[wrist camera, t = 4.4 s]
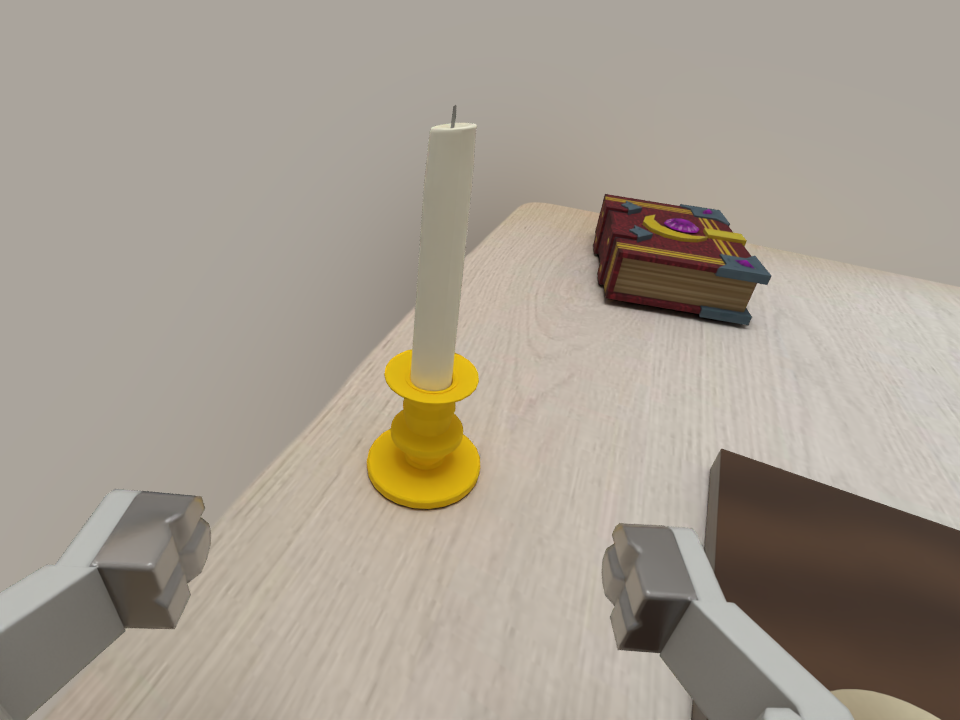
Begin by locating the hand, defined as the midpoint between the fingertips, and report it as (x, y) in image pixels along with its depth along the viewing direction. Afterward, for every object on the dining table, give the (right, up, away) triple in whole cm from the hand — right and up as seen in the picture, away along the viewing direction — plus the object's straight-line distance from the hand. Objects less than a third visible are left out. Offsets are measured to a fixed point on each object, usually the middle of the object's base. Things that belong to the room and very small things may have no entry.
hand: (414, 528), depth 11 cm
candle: (-1, -2, +14) cm, 15 cm away
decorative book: (+17, +11, +37) cm, 42 cm away
